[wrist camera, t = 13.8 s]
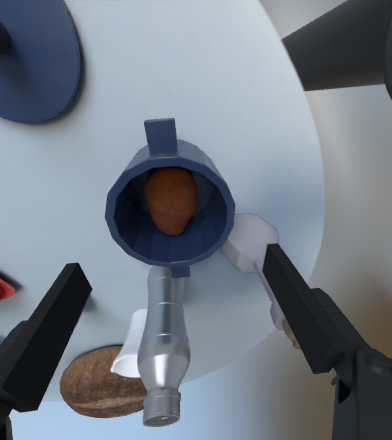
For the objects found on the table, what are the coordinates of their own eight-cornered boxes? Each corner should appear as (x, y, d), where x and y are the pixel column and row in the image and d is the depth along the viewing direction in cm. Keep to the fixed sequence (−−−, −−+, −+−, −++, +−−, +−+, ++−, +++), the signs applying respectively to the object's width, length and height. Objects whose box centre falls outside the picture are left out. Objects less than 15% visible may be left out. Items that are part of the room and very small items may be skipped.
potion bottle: (233, 257, 35) (278, 373, 20) (208, 226, 31) (242, 343, 16) (275, 233, 33) (361, 342, 18) (255, 197, 29) (346, 299, 14)
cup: (119, 305, 39) (104, 360, 31) (164, 302, 40) (162, 355, 32) (125, 328, 44) (113, 382, 35) (165, 325, 45) (163, 377, 37)
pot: (216, 110, 22) (241, 114, 14) (216, 232, 32) (230, 276, 24) (109, 117, 22) (71, 126, 14) (141, 240, 31) (130, 288, 23)
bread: (55, 345, 45) (28, 400, 36) (169, 339, 48) (168, 388, 40) (80, 387, 58) (64, 435, 50) (167, 380, 62) (166, 423, 53)
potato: (143, 212, 28) (136, 239, 23) (149, 148, 23) (142, 161, 18) (189, 219, 29) (192, 245, 24) (203, 159, 25) (212, 175, 19)
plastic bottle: (142, 272, 35) (112, 429, 18) (163, 249, 33) (152, 405, 16) (170, 284, 38) (167, 432, 21) (191, 264, 35) (208, 412, 18)
